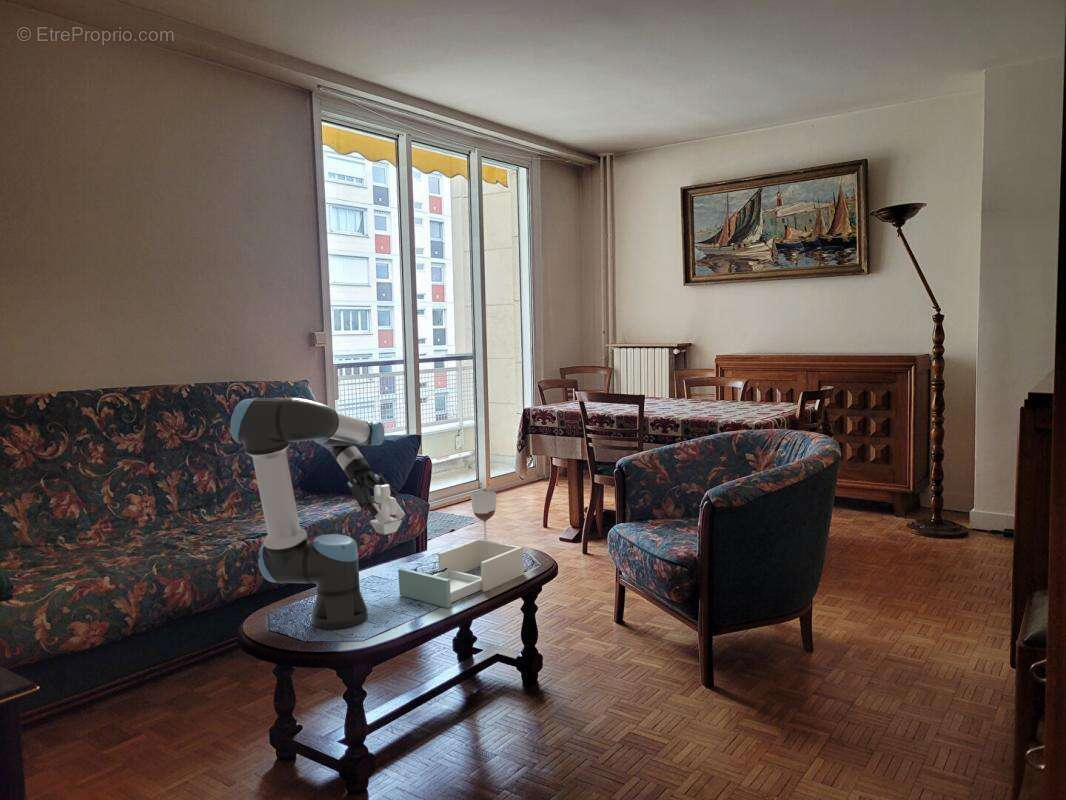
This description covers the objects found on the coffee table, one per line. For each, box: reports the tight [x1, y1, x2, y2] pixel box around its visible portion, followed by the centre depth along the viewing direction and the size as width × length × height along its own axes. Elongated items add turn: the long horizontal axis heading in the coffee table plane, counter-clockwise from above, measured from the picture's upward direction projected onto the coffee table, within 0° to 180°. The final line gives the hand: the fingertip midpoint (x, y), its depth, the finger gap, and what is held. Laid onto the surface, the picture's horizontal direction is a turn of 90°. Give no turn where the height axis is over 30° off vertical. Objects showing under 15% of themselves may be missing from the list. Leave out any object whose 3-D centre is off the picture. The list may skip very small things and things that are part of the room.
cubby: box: [437, 538, 525, 593], centre depth 248 cm, size 19×19×9 cm
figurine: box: [369, 483, 403, 536], centre depth 242 cm, size 7×9×15 cm
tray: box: [397, 567, 482, 609], centre depth 235 cm, size 19×20×8 cm
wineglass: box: [470, 490, 497, 541], centre depth 271 cm, size 9×10×22 cm
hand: (393, 519), depth 240 cm, fingers closed on figurine, 7 cm apart
